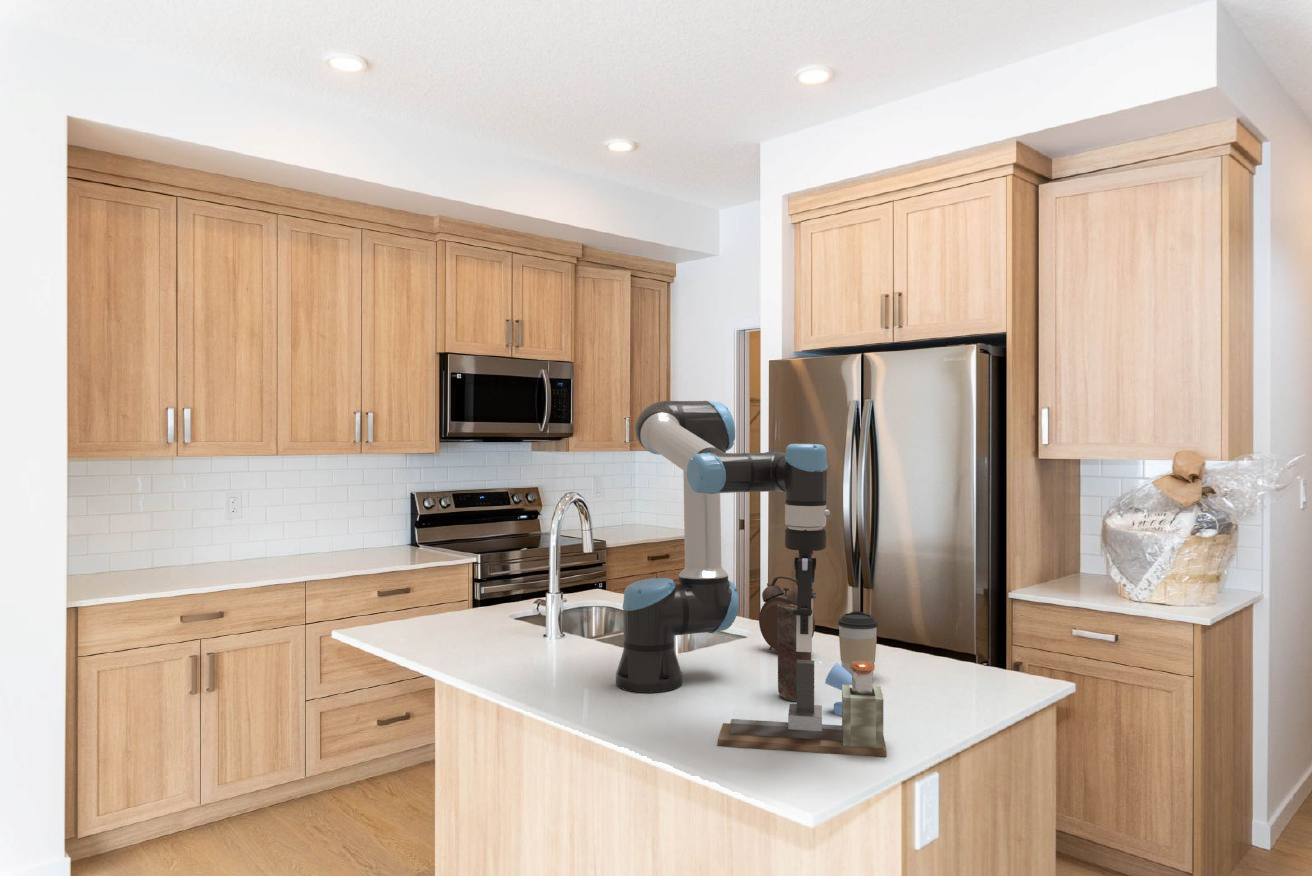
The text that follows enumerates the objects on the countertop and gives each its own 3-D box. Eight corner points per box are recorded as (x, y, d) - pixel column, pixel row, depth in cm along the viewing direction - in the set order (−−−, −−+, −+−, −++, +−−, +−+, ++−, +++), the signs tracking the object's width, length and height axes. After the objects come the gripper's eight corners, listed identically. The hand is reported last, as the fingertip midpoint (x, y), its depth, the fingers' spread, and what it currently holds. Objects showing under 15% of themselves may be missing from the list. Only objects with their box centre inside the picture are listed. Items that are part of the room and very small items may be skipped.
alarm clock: (818, 656, 224) (818, 578, 224) (801, 661, 219) (801, 581, 219) (773, 646, 235) (773, 571, 235) (756, 650, 230) (756, 574, 230)
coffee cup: (878, 685, 199) (878, 619, 199) (837, 682, 201) (837, 617, 201) (876, 674, 208) (876, 611, 208) (837, 672, 210) (837, 609, 209)
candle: (770, 694, 192) (771, 602, 192) (799, 690, 195) (799, 600, 195) (789, 703, 185) (789, 609, 185) (818, 699, 188) (819, 606, 188)
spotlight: (822, 713, 179) (855, 718, 176) (822, 664, 179) (855, 669, 175) (830, 706, 183) (863, 712, 180) (830, 659, 183) (863, 663, 180)
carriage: (788, 729, 159) (788, 666, 159) (789, 716, 166) (789, 656, 166) (821, 731, 158) (822, 667, 158) (821, 718, 165) (821, 657, 165)
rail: (717, 745, 161) (717, 691, 160) (723, 729, 169) (723, 677, 169) (886, 756, 155) (886, 700, 155) (882, 739, 164) (883, 685, 164)
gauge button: (850, 709, 158) (850, 666, 158) (849, 702, 163) (849, 660, 163) (875, 711, 158) (875, 667, 157) (873, 703, 162) (873, 661, 162)
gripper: (826, 536, 149) (825, 661, 149) (826, 520, 173) (825, 627, 174) (782, 535, 150) (781, 658, 151) (787, 519, 175) (786, 625, 175)
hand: (804, 642), depth 162 cm, fingers open, 13 cm apart
